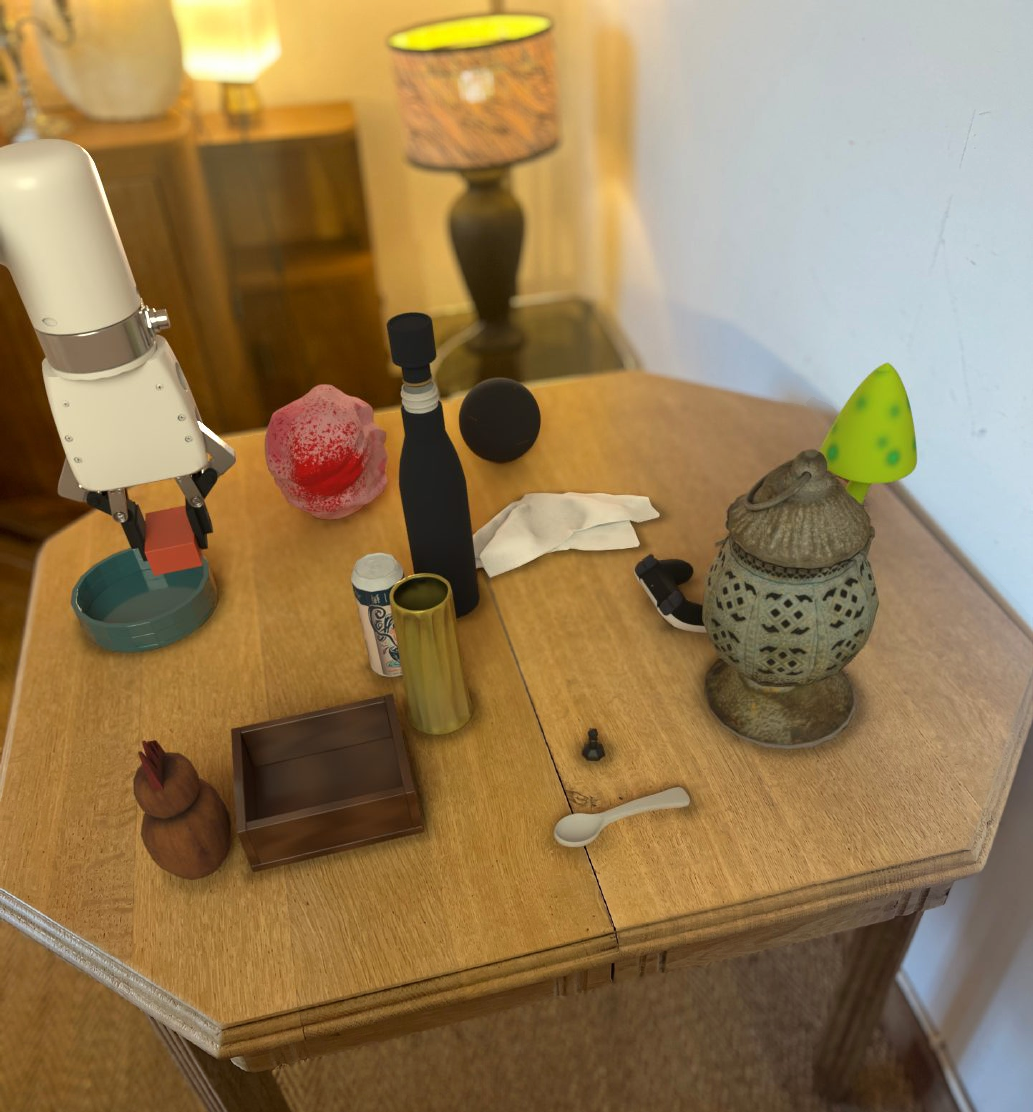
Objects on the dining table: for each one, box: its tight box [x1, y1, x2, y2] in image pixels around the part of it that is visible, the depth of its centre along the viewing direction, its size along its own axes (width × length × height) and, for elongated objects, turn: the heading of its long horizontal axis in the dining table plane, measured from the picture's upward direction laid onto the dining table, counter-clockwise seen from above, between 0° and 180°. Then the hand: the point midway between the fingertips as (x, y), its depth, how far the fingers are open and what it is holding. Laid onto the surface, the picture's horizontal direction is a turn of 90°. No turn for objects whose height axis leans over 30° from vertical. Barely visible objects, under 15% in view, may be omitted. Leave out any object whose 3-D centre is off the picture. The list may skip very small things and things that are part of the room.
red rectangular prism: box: [144, 505, 203, 576], centre depth 83 cm, size 6×4×2 cm, turn 15°
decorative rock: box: [264, 383, 389, 520], centre depth 112 cm, size 19×14×15 cm
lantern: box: [702, 449, 880, 750], centre depth 81 cm, size 14×14×25 cm
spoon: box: [553, 786, 691, 848], centre depth 80 cm, size 3×12×2 cm, turn 111°
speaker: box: [458, 377, 542, 464], centre depth 119 cm, size 10×10×10 cm
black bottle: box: [386, 311, 481, 619], centre depth 92 cm, size 6×6×30 cm
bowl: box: [70, 547, 219, 653], centre depth 104 cm, size 14×14×4 cm
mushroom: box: [819, 362, 918, 506], centre depth 91 cm, size 8×8×25 cm
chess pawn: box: [581, 727, 606, 762], centre depth 85 cm, size 2×2×3 cm
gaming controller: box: [633, 553, 707, 634], centre depth 98 cm, size 11×4×7 cm
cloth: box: [472, 491, 661, 579], centre depth 110 cm, size 26×14×2 cm, turn 102°
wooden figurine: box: [132, 739, 231, 881], centre depth 75 cm, size 7×6×15 cm
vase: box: [390, 573, 474, 736], centre depth 86 cm, size 6×6×14 cm
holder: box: [230, 693, 425, 873], centre depth 82 cm, size 14×12×5 cm
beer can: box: [350, 552, 406, 678], centre depth 92 cm, size 5×5×12 cm
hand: (175, 544), depth 83 cm, fingers closed on red rectangular prism, 4 cm apart
